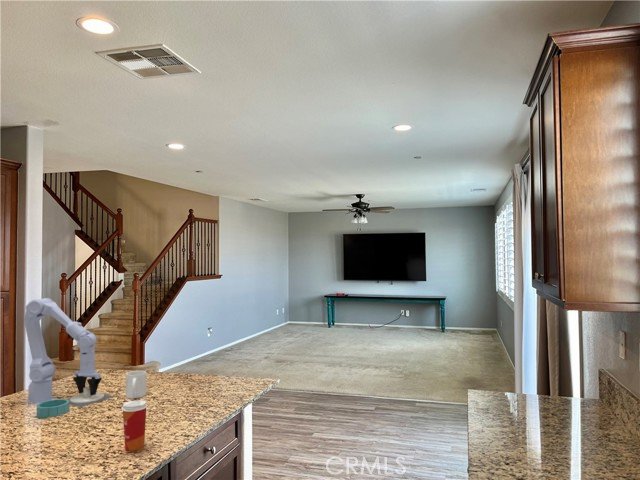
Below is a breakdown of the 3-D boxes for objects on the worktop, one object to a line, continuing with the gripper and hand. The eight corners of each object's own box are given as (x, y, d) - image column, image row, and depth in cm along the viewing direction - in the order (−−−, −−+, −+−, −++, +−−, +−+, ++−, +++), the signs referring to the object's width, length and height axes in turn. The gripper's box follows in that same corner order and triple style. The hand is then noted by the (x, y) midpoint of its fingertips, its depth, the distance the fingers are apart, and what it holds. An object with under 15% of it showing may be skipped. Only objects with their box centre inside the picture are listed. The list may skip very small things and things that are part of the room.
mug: (143, 401, 194) (143, 376, 195) (122, 402, 192) (122, 378, 193) (147, 393, 206) (147, 370, 206) (127, 394, 204) (128, 371, 204)
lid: (63, 401, 194) (63, 389, 194) (91, 393, 205) (91, 381, 206) (82, 405, 188) (82, 393, 188) (110, 397, 199) (110, 385, 199)
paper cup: (126, 443, 149) (126, 400, 150) (150, 442, 150) (150, 399, 150) (117, 453, 141) (117, 407, 142) (143, 452, 142) (143, 406, 143)
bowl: (30, 415, 178) (30, 405, 178) (58, 407, 187) (58, 397, 188) (47, 420, 172) (47, 409, 173) (74, 411, 182) (74, 401, 182)
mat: (58, 402, 194) (58, 401, 194) (92, 392, 208) (92, 391, 208) (81, 408, 186) (81, 407, 186) (115, 397, 200) (115, 396, 200)
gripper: (68, 362, 197) (68, 394, 197) (89, 365, 190) (89, 398, 190) (83, 359, 203) (83, 390, 203) (104, 362, 197) (104, 393, 196)
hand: (87, 393), depth 197 cm, fingers open, 7 cm apart
